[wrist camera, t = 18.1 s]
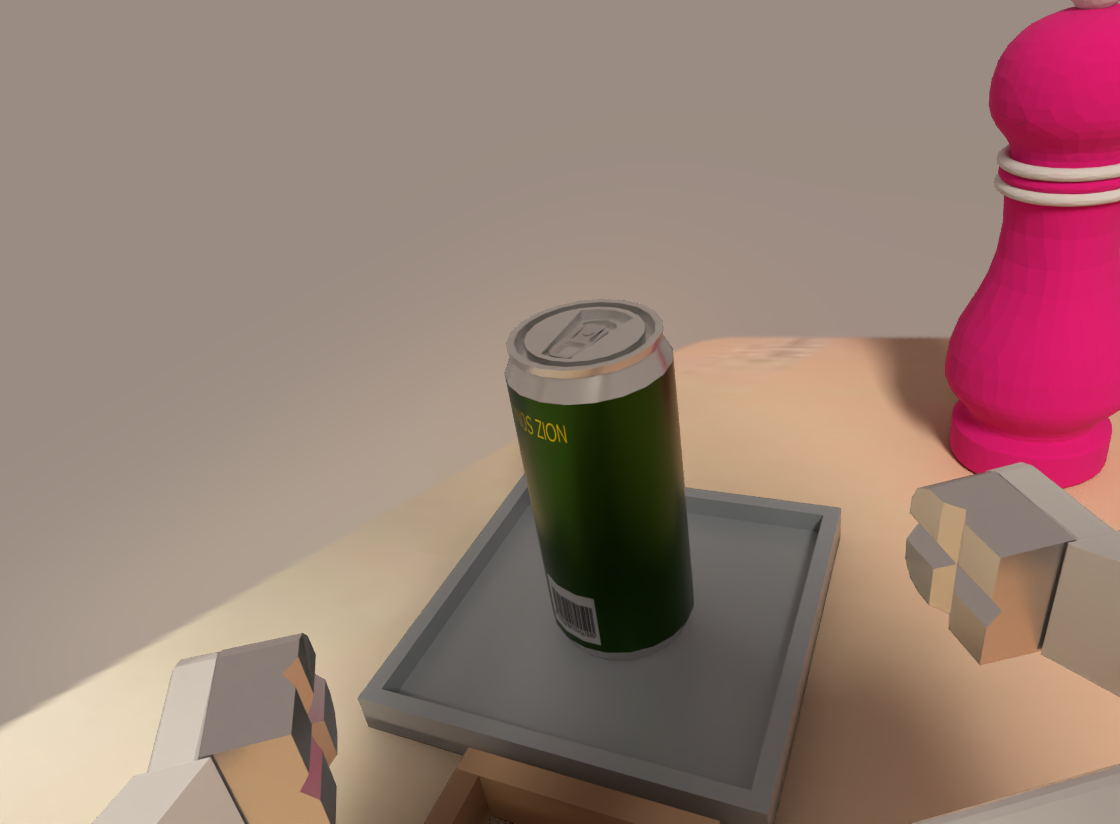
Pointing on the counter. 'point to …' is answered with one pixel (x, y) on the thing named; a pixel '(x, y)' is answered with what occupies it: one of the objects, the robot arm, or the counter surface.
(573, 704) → the tray
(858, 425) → the counter surface
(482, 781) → the can holder
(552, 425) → the beer can
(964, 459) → the pepper mill
